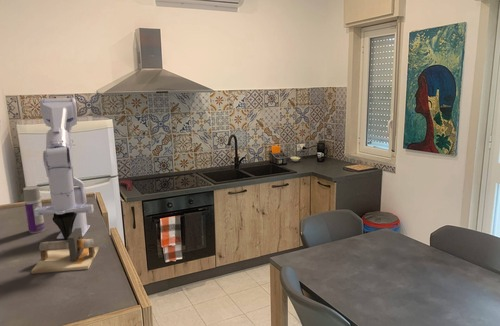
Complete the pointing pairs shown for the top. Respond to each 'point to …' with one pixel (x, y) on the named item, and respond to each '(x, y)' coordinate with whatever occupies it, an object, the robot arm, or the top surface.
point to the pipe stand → (64, 256)
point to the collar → (74, 244)
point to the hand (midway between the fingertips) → (68, 238)
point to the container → (32, 203)
